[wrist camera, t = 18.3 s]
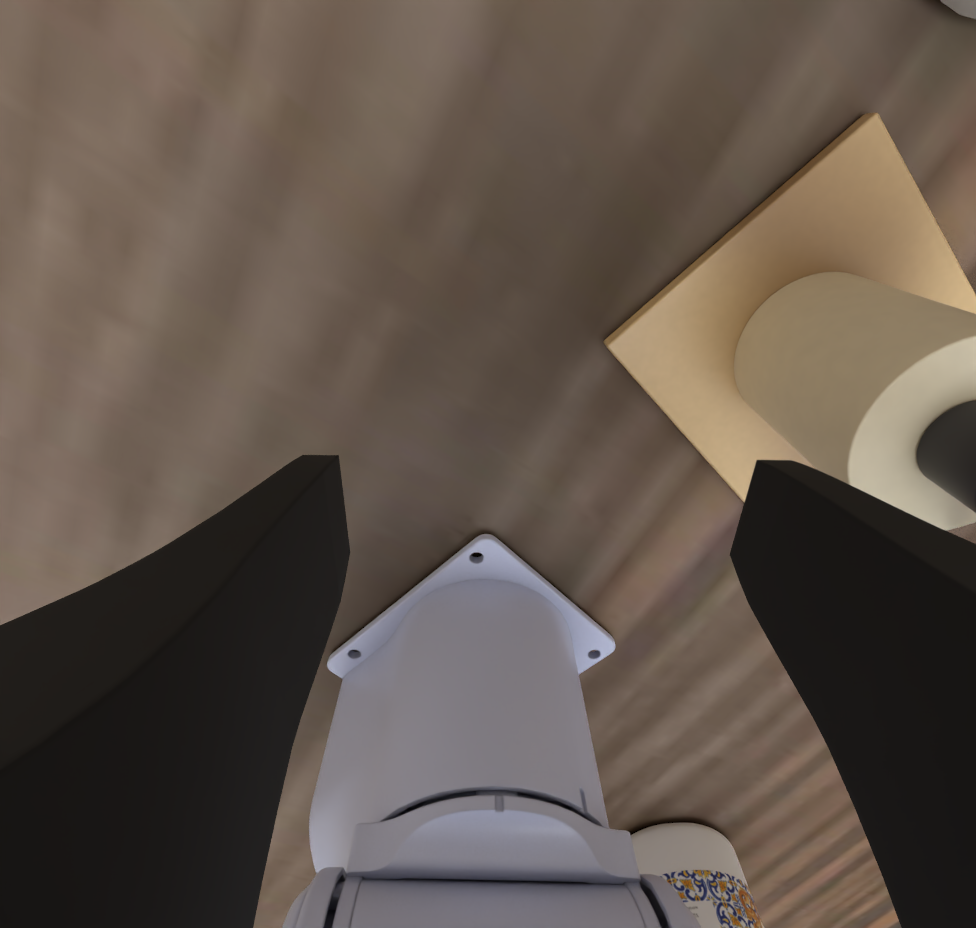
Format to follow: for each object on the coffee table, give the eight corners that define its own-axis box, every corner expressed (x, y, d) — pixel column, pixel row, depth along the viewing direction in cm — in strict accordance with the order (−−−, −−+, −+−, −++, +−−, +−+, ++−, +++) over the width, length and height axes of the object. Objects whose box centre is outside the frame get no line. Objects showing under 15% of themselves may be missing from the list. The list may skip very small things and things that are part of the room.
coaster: (752, 511, 22) (759, 520, 21) (602, 341, 18) (605, 346, 18) (993, 347, 19) (1008, 352, 18) (864, 112, 16) (878, 111, 15)
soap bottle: (720, 306, 17) (895, 416, 10) (887, 246, 17) (1202, 318, 9) (748, 453, 20) (905, 626, 13) (895, 405, 19) (1150, 560, 12)
